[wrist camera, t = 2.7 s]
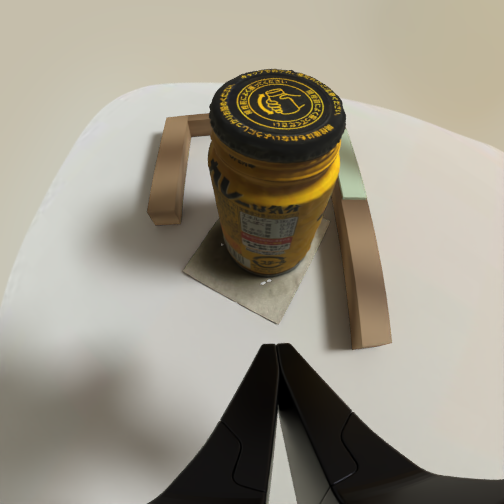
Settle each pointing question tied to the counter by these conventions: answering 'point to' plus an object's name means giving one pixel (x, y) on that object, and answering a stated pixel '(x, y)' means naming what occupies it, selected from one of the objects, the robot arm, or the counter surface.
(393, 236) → the counter surface
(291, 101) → the condiment
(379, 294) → the rail bay
